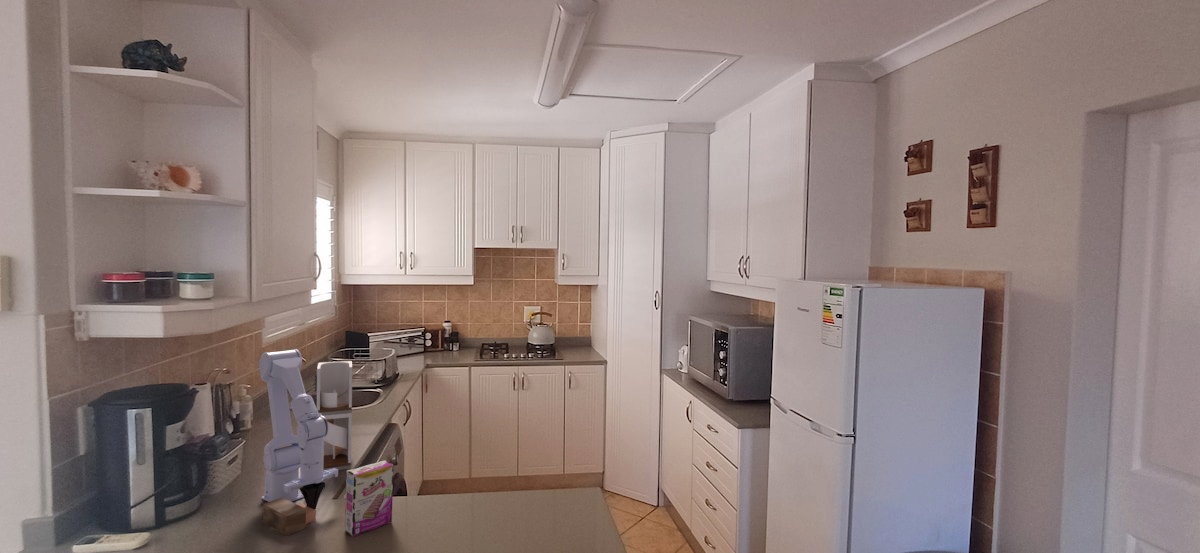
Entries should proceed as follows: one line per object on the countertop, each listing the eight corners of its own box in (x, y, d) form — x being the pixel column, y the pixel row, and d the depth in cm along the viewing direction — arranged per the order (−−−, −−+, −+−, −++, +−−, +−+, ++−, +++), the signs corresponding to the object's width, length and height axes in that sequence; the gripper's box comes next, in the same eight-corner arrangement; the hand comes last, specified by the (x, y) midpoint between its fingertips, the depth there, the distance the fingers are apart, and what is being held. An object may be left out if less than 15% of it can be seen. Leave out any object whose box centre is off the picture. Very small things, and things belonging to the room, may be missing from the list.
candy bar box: (353, 538, 141) (354, 475, 140) (344, 531, 144) (344, 470, 144) (393, 522, 150) (394, 463, 149) (383, 516, 153) (384, 459, 152)
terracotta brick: (273, 522, 148) (274, 512, 148) (299, 513, 154) (299, 502, 154) (289, 531, 144) (290, 520, 144) (315, 521, 150) (315, 510, 150)
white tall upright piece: (317, 461, 192) (318, 362, 191) (350, 457, 196) (351, 360, 195) (315, 473, 182) (317, 368, 180) (350, 468, 186) (352, 366, 185)
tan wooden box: (262, 522, 147) (262, 503, 147) (281, 515, 152) (281, 497, 151) (286, 535, 141) (286, 516, 141) (305, 528, 145) (305, 508, 145)
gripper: (293, 472, 144) (293, 523, 144) (344, 456, 156) (344, 503, 157) (279, 466, 148) (279, 516, 148) (330, 451, 160) (329, 497, 160)
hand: (311, 509), depth 153 cm, fingers closed
